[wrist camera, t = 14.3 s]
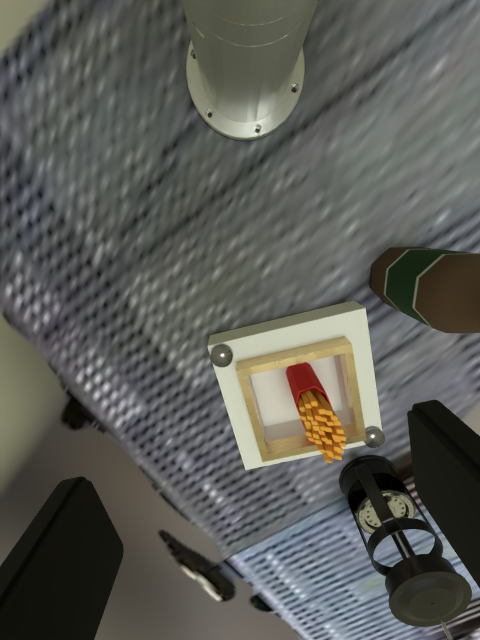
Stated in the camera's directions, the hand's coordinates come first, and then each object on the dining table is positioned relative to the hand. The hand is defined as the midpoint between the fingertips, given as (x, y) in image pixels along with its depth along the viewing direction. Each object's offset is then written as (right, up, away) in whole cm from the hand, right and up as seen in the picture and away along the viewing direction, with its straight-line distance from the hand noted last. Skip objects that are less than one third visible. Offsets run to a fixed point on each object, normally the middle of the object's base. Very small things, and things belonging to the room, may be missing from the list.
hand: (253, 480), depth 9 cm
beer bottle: (+20, +11, +31) cm, 38 cm away
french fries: (+9, -4, +35) cm, 36 cm away
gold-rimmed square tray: (+8, -4, +35) cm, 36 cm away
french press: (+20, -21, +41) cm, 50 cm away
